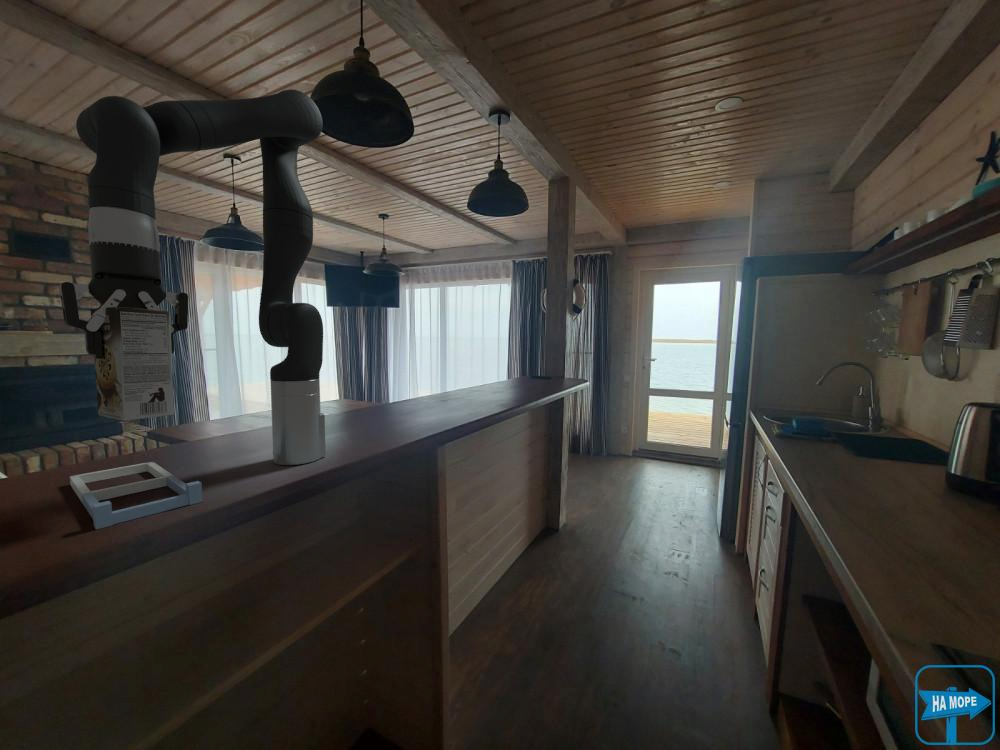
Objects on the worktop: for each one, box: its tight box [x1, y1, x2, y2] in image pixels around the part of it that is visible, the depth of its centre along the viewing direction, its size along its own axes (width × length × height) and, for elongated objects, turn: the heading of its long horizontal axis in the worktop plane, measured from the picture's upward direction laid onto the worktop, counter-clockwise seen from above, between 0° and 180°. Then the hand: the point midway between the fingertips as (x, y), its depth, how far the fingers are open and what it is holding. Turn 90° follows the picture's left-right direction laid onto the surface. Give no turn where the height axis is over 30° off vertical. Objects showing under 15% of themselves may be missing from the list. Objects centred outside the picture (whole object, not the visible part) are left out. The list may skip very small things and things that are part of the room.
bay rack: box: [69, 461, 203, 530], centre depth 64 cm, size 12×27×3 cm, turn 53°
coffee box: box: [89, 307, 175, 422], centre depth 59 cm, size 9×6×16 cm
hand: (133, 357), depth 59 cm, fingers closed on coffee box, 7 cm apart
